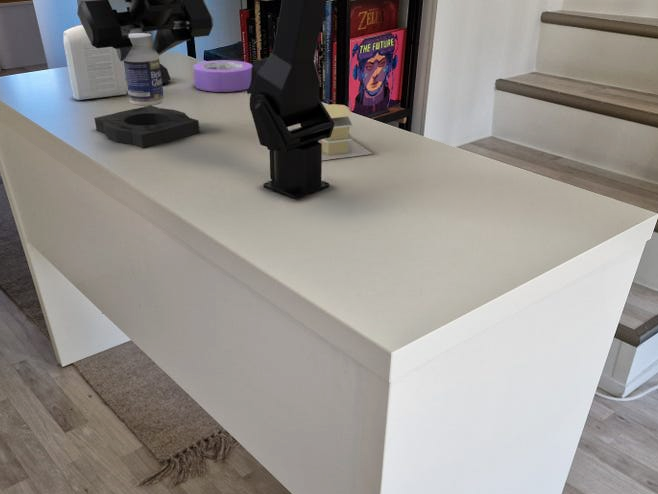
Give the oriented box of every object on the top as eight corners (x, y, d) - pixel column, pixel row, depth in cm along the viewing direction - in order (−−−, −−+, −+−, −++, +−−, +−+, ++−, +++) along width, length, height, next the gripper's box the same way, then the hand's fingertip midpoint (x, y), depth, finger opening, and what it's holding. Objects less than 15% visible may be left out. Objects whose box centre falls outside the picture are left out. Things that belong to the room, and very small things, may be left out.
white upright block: (123, 90, 131) (112, 20, 123) (131, 95, 128) (120, 23, 120) (70, 97, 126) (56, 24, 119) (77, 102, 123) (63, 28, 116)
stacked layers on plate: (372, 154, 101) (374, 116, 97) (317, 161, 98) (318, 122, 94) (345, 135, 108) (346, 100, 105) (293, 141, 105) (293, 105, 102)
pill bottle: (160, 106, 104) (151, 38, 98) (126, 106, 104) (115, 38, 98) (167, 98, 108) (159, 32, 103) (134, 97, 108) (124, 31, 103)
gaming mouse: (139, 70, 145) (137, 50, 142) (177, 83, 136) (174, 62, 134) (113, 75, 141) (110, 54, 139) (149, 88, 132) (147, 66, 130)
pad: (205, 131, 109) (204, 119, 108) (137, 150, 101) (135, 136, 100) (157, 115, 116) (155, 103, 115) (89, 131, 108) (87, 119, 107)
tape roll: (209, 77, 140) (207, 57, 138) (261, 81, 138) (260, 61, 136) (185, 90, 131) (183, 69, 129) (240, 94, 129) (239, 73, 126)
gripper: (196, -73, 95) (170, 6, 108) (67, -70, 86) (56, 16, 99) (228, -5, 94) (199, 66, 108) (101, 6, 85) (87, 81, 99)
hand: (137, 56), depth 103 cm, fingers closed on pill bottle, 5 cm apart
